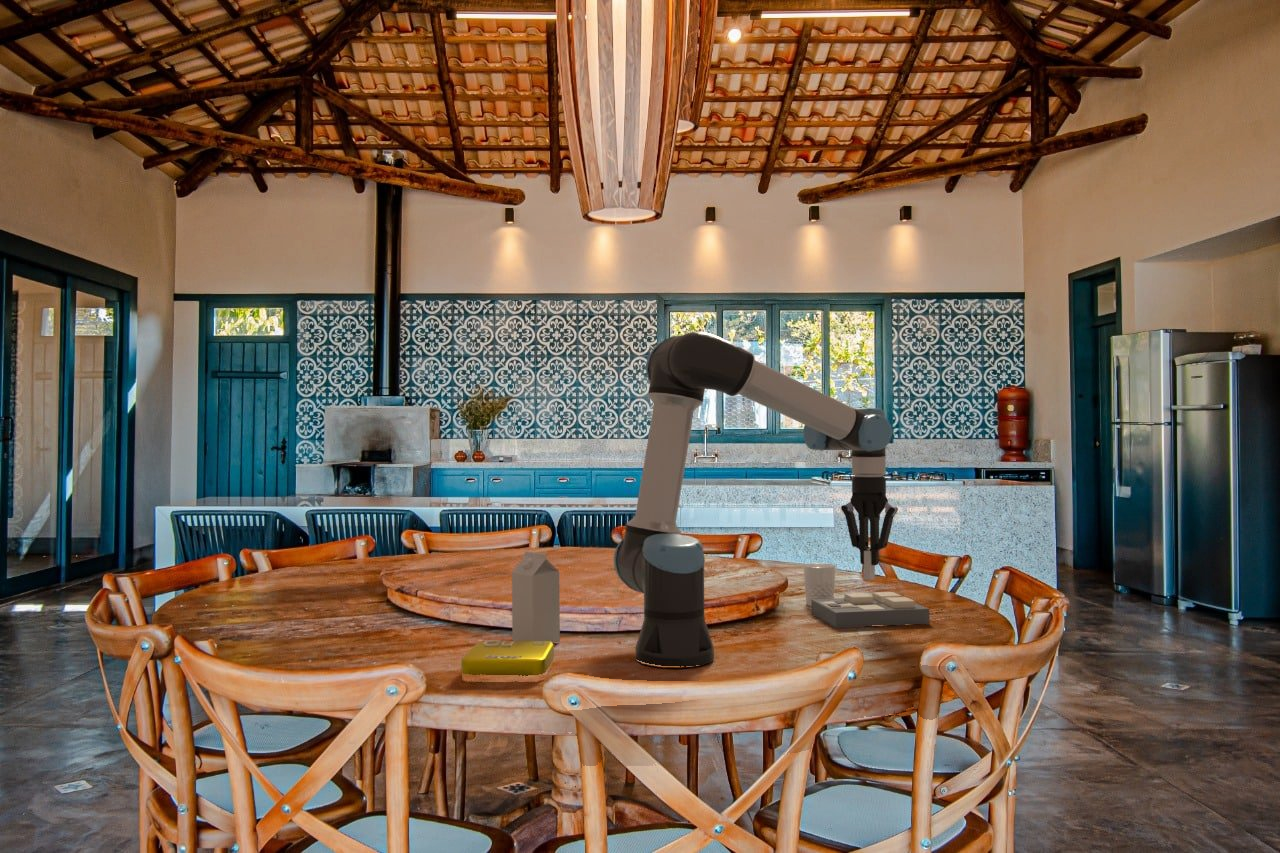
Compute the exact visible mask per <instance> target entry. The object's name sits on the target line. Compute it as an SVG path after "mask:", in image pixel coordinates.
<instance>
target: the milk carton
mask: <svg viewBox="0 0 1280 853" xmlns="http://www.w3.org/2000/svg"><path fill="white" fill-rule="evenodd" d="M560 604H561V603H560V571H559V570H558V568H556V567H555V566H554V564H552V563H551V562H550V561H549V560H548V559H547V553H543V552H534V551H527V550H525V551H524V556H523V558H522V559H521V560H520V562H518V564H517V565H516V566H515V567H514V569H513V570H512V571H511V609H512V610H511V611H512V612H511V614H512V615H511V616H512V617H511V622H512V626H511V627H512V630H511V631H512V632H511V633H512V639H511V641H512V640H513V641H551V642H552V643H553V642H560V643H561V633H560V632H561V631H560V630H561V626H560V625H561V622H560V620H561V619H560V618H561V613H560V612H561V611H560V609H561V608H560V607H561V606H560Z"/></svg>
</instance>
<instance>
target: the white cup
mask: <svg viewBox="0 0 1280 853" xmlns="http://www.w3.org/2000/svg"><path fill="white" fill-rule="evenodd" d="M803 578H804V579H803V581H804V591H805V592H804V593H805V603H806V605H807V606H809V607H812V605H811V600H814V599H835V598H834V597H835V586H836V581H835V580H836V565H835V564H832V563H826V562H821V563H820V562H815V563H814V562H812V563H805V564H803Z"/></svg>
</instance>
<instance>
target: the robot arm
mask: <svg viewBox="0 0 1280 853" xmlns="http://www.w3.org/2000/svg"><path fill="white" fill-rule="evenodd" d="M645 371H646V377H647V379H648V381H649V389H648V394H647V396H648V397H649V399H650V400H651V401H652V403H653V408H652V413H651V419H650V425H649V426H650V427H649V432H648V438H647V443H646V449H645V456H644V462H643V469H642V473H641V479H640V480H641V481H640V485H639V486H640V487H639V493H638V497H637V504H636V509H635V515H634V517H633V518H631V519H630V520H629V521H627V522H626V524H625V525H626V526H625V531H624V537H623V538H622V539H621V540H620V541H619V543H618V544H617V545H616V548H615V550H614V553H613V566H614V570H615V573H616V575H617V576H618V578H619V580H620V581H621V582H623V584H625V585H626V586H627V587H628V588H629V589H631V590H633V591H635V592H636V593H642V594H643V610H644V611H643V614H644V615H643V621H642V625H641V627H640V632H639V634H638V637H637V642H636V645H635V651H634V652H635V660H636V659H637V660H639V661H642V662H645V663H649V664H655V665H661V666H680V667H681V666H684V667H686V666H696V665H702V666H704V665H703V664H706V665H708V664H710V663H712V662H714V661H715V648H714V644H713V641H712V638H711V634H710V632H709V629H708V626H707V622H706V619H705V563H706V560H705V559H706V558H705V555H704V554H705V553H704V546H703V544H702V542H701V541H700V540H699V539H698V538H695V537H694V536H691V535H683V534H682V531H681V530H680V528H679V527H678V525H677V516H678V512H679V504H680V500H681V499H680V498H681V492H682V487H683V480H684V474H685V470H686V469H685V467H686V462H687V455H688V449H689V444H690V437H691V430H692V425H693V421H694V420H693V419H694V414H695V410H697V409H698V408H699V407H700V406H702V405H703V404H704V403H703V402H704V398H705V392H706V390H712V391H718V392H721V393H723V394H724V395H725V394H726V395H728V396H730V397H735V396H738V395H739V396H742V397H744V398H746V399H749V400H751V401H752V402H755V403H757V404H759V405H762V406H763V407H765V408H768V409H770V410H772V411H774V412H777V413H778V414H781V415H783V416H785V417H787V418H789V419H792V420H793V421H796V422H798V423H799V424H802V425H803V429H802V430H803V440H804V443H805V445H806V446H807V448H808V449H810V450H812V451H821V452H822V451H851V474H852V475H854V476H852V478H851V494H852V495H851V497H850V501H849V502H848V503H846V504H843V505H841V507H840V509H841V511H842V513H843V514H844V516H845V520H846V525H847V529H848V533H849V538H850V543H851V546H852V547H853V548H856V549H858V550H859V558H860V560H859V561H860V564H861V565H863V580H865V581H872V580H875V579H876V566H878V565H879V561H880V560H879V558H880V557H879V555H880V554H879V552H880V550H882V549H886V548H887V547H888V542H889V539H890V538H889V537H890V534H891V529H892V526H893V522H894V517H895V516H896V514H897V513H898V511H899V509H898V507H897V506H893V505H892V504H890V503H889V500H888V497H887V495H886V494H887V481H886V480H887V478H886V477H885V476H884V475H886V473H887V471H886V469H887V467H886V465H887V460H886V459H887V458H886V452H887V451H886V447H887V446H888V445H889V444H890V442H891V438H892V436H893V430H892V424H891V423H890V422H889V420H888V419H887V418H886V413H885V411H884V410H883V409H882V408H879V407H874V408H873V407H872V408H871V407H869V408H868V407H867V408H866V407H865V408H864V407H863V408H860V407H859V408H857V407H856V408H854V407H852V406H850V405H848V404H846V403H844V402H842V401H839V400H838V399H836V398H834V397H832V396H829V395H827V394H825V393H823V392H821V391H819V390H817V389H815V388H813V387H810V385H807V384H805V383H802V382H801V381H799V380H797V379H795V378H792V377H791V376H788V375H787V374H784V373H782V372H780V371H778V370H777V369H775V368H772V367H770V366H769V365H766V364H764V363H762V362H760V361H758V360H756V358H755V355H754V353H753V352H751V351H749V350H747V349H745V348H743V347H741V346H739V345H737V344H734V342H732V341H729V340H726V339H725V338H722V337H720V336H717V335H715V334H713V333H709V332H705V331H691V332H687V333H684V334H682V335H677V336H671V337H668V338H665V339H664V340H662V341H661V342H659V343H657V344H656V345H655V346H654V348H653V349H651V351H650V352H649V354H648V357H647V359H646V364H645ZM854 510H855V511H856V513H857V518H858V524H857V520H856V515H855V512H854ZM883 511H884V513H885V514H884V517H883V521H882V522H883V523H882V526H881V529H880V520H881V514H882V513H883ZM858 526H859V528H858ZM869 542H870V543H869ZM711 661H712V662H711ZM709 662H710V663H709ZM707 663H708V664H707Z"/></svg>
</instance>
